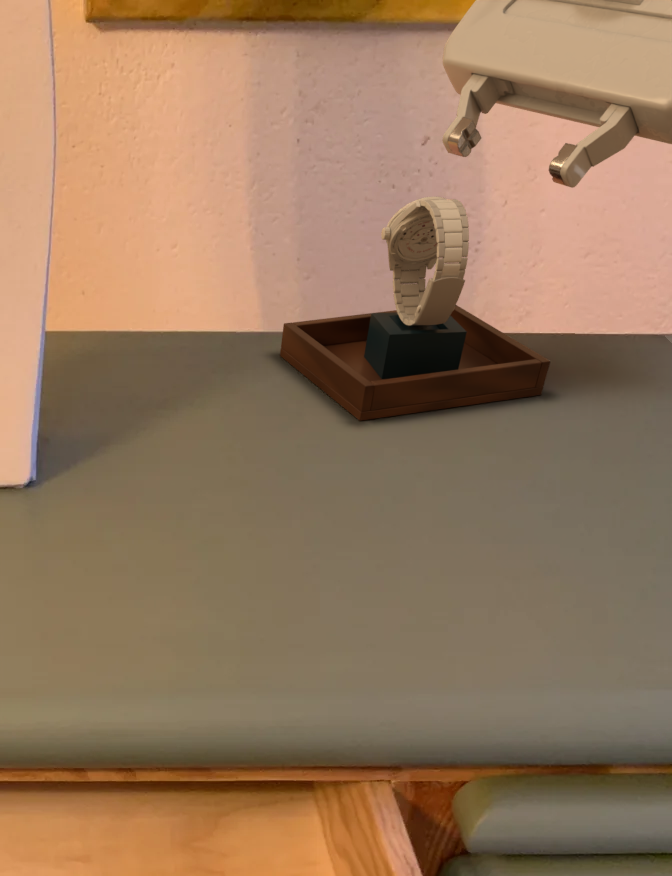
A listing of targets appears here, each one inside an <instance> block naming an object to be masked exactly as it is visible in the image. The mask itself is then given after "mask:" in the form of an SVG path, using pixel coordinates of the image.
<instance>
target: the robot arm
mask: <svg viewBox="0 0 672 876" xmlns="http://www.w3.org/2000/svg"><path fill="white" fill-rule="evenodd" d="M442 66H443V68H444V71H445V73H446V75H447V77H448V80H449V81H450V84H451V85H452V87H453V89H454V91H455V92H456V94H458V95H460V96H459V100H458V105H457V111H456V117H455V119H453V121H452V122H451V124H450V125H449V126H448V128H447V129H446V130H445V132H444V133H443V135H442V144H443V146H444V148H445V150H446V152H447V153H448V154H452V155H455V156H458V157H463V158H468V156H469V155H470V154H471V153H472V150H473V148H475V147H476V146H477V145H478V143H479V142H480V141H481V140H482V135H481V134H480V131H479V130H478V129H477V126H478V122H479V119H480V115H481V114H483V115H486V114H488V113H490V111H491V110H492V108H493V107H494V106H495V104H497V105H498V104H499V105H501V106H506V107H510V108H514V109H519V110H522V111H523V110H524V111H527V112H530V113H531V112H533V113H537V114H541V115H545V116H549V117H553V118H557V119H561V120H566V121H571V122H574V123H579V124H583V125H587V126H591V127H596V129H595V130H594V131H592V132H591V133H590V134H588V135H587V136H586V137H584V138H583V139H582V140H580V141H579V142H577V143H575V144H572V143H568V142H565V143H564V144H563V146H562V147H561V148H560V149H559V151H558V154H557V156H555V157H553V159H552V160H551V162H550V163H549V166H548V172H549V175H550V176H551V177H552V178H551V180H552V182H553V183H555V184H559V185H561V186H565V187H567V188H568V187H569V188H572V189H573V188H575V187H577V185H578V184H579V183H580V182H581V181H582V179H583V178H584V177H585V176H586V175H587V174H588V172H589V170H590V169H591V168H592V167H596V166H597V165H599V164H600V163H603V162H604V161H606V160H608V159H609V158H611V157H612V156H614V155H615V154H617V153H619V152H621V151H623V150H625V149H626V147H627V146H628V145H629V144H630V142H631V141H632V140H633V139H634V137H639V138H642V139H647V140H652V141H656V142H660V143H664V144H668V145H672V0H475V1H474V2H473V3H472V4H471V6H470V8H468V10H467V11H466V12H465V14H464V15H463V17H462V18H461V20H459V22H458V24H457V25H456V26H455V28H454V29H453V31H452V32H451V33H450V35H449V36H448V38H447V41H446V42H445V44H444V46H443V53H442Z"/></svg>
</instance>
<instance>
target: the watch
mask: <svg viewBox="0 0 672 876" xmlns="http://www.w3.org/2000/svg"><path fill="white" fill-rule="evenodd" d="M468 217H469V216H468V215H467V210H466V208H465V206H464V204H463V203H462V202H461V201H460V200H459V199H456V198H453V199H452V198H451V199H449V198H448V199H447V198H446V197H445V198H444V197H441V196H425V197H421V198H418V199H416V200H413V201H411V202H409V203H407V204H405V205H404V206H403V207H401V208H400V209H399V210H397V211H396V212H395V213H394V214H393V215H392V216H391V218H390V219H389V220H388V222H387V224H386V226H385V227H383V228H382V229H381V234H380V238H381V240H383V241H385V243H386V246H387V256H388V257H387V259H388V269H389V271H390V272H392V293H393V300H394V301H393V302H394V305H395V310H397V312H391V313H377V312H370V313H371V318H370V324H369V330H368V336H367V342H366V348H365V354H364V357H365V358H366V360H367V361H368V362H369V364H370V365H371V366H372V367H373V369H374V370H375V371H376V373H377V374H378V375H379V376H380V378H381V379H392V378H399V377H406V376H414V375H421V374H429V373H436V372H444V371H451V370H458V369H459V364H460V360H461V355H462V351H463V346H464V342H465V337H466V333H467V332H466V331H465V330H464V329H463V328H462V327H461V326H460V325H459V324H458V323H457V322H456V321H455V320H454V319H453V318H452V317H451V316H450V315H451V313H452V311H454V309H455V305H457V303H458V301H459V298H460V296H461V294H462V290H463V289H464V285H465V283H466V279H464V278H465V275H466V269H467V266H468V265H467V264H468V260H469V259H468V258H469V257H468V256H469V248H470V247H469V246H470V245H469V244H470V242H469V241H470V230H469V229H470V228H469V227H470V226H469V225H470V224H469V218H468ZM434 266H435V267H434ZM433 268H435V270H434V271H433V272H434V273H433V276H432V277H431V278H429V279H427V282H426V276H427V270H432V269H433Z"/></svg>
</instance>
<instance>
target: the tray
mask: <svg viewBox="0 0 672 876" xmlns="http://www.w3.org/2000/svg"><path fill="white" fill-rule="evenodd" d="M391 312H397V310H396V309H395V310H386V311H377V312H376V313H391ZM371 313H372V312H369V313H361V314H353V315H343V316H336V317H327V318H319V319H311V320H303V321H301V320H300V321H294V322H286V323H285V322H284V323H283V326H282V327H283V329H282V334H281V335H282V336H281V342H280V351H279V352H280V353H279V356H280V357H281V358H282V359H283V360H284V361H286V362H288V364H289V365H291V366H292V367H293V368H294V369H296V370H297V371H298V372H299V373H301V374H302V375H303V376H304V377H305V378H306V379H308V380H309V381H310V382H312V383H313V384H314V385H316V387H318V388H319V389H320V390H321V391H322V392H323V393H325V394H326V395H327V396H328V397H330V398H331V399H332V400H333V401H335V402H336V403H337V404H338V405H340V406H341V407H342V408H343V409H345V411H347V412H348V413H349V414H351V415H352V416H353V417H355V418H356V419H357V420H358V421H359V422H361V421H366V420H367V421H368V420H374V419H380V418H388V417H395V416H402V415H409V414H410V415H411V414H416V413H423V412H430V411H437V410H444V409H452V408H458V407H464V406H472V405H480V404H487V403H493V402H500V401H507V400H515V399H522V398H528V397H536V396H542V393H543V390H544V386H545V383H546V379H547V377H548V371H549V368H550V365H551V360H550V359H548V358H546V357H544V356H543V355H541V354H539V353H538V352H536V351H534V350H533V349H531V348H529V347H528V346H526V345H525V344H522V343H521V342H520V341H518V340H516V339H514V338H513V337H511V336H509V335H508V334H506V333H504V332H503V331H501V330H499V329H497V328H496V327H495V326H493V325H491V324H489V323H487V322H485V321H484V320H482V319H481V318H479V317H477V316H476V315H474V314H472V313H471V312H469V311H467V310H466V309H464V308H462V307H460V306H459V305H458V304H456V305H455V309H454V311H452V313H451V315H450V316H451V317H452V318H453V319H454V320H455V321H456V322H457V323H458V324H459V325H460V326H461V327H462V328H463V329H464V330H465V331H466V332H467V333H466V337H465V342H464V346H463V351H462V355H461V360H460V364H459V369H458V370H451V371H444V372H436V373H429V374H421V375H414V376H406V377H399V378H392V379H381V378H380V376H379V375H378V374H377V373H376V371H375V370H374V369H373V367H372V366H371V365H370V364H369V362H368V361H367V360H366V358H365V357H364V354H365V348H366V342H367V336H368V330H369V324H370V318H371Z"/></svg>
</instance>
